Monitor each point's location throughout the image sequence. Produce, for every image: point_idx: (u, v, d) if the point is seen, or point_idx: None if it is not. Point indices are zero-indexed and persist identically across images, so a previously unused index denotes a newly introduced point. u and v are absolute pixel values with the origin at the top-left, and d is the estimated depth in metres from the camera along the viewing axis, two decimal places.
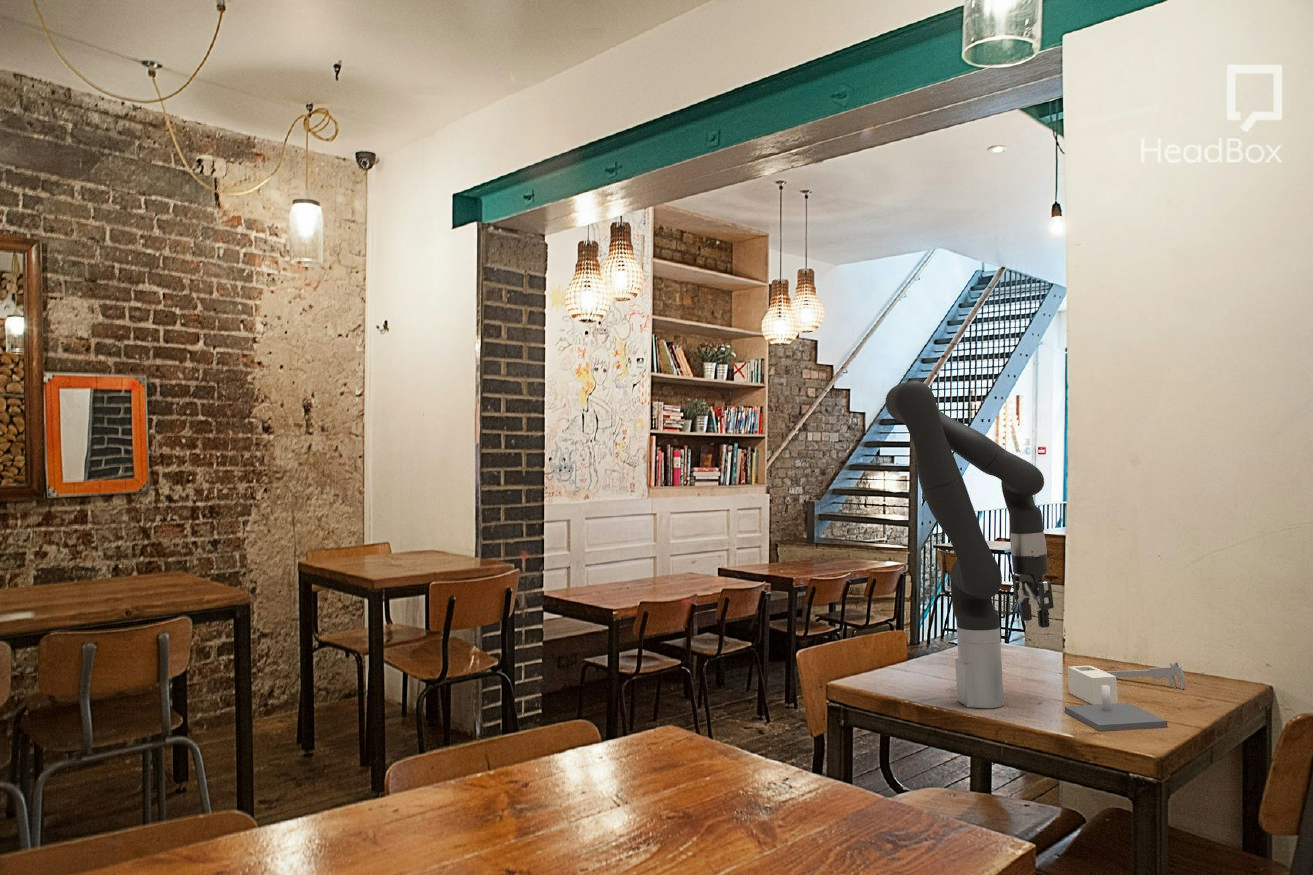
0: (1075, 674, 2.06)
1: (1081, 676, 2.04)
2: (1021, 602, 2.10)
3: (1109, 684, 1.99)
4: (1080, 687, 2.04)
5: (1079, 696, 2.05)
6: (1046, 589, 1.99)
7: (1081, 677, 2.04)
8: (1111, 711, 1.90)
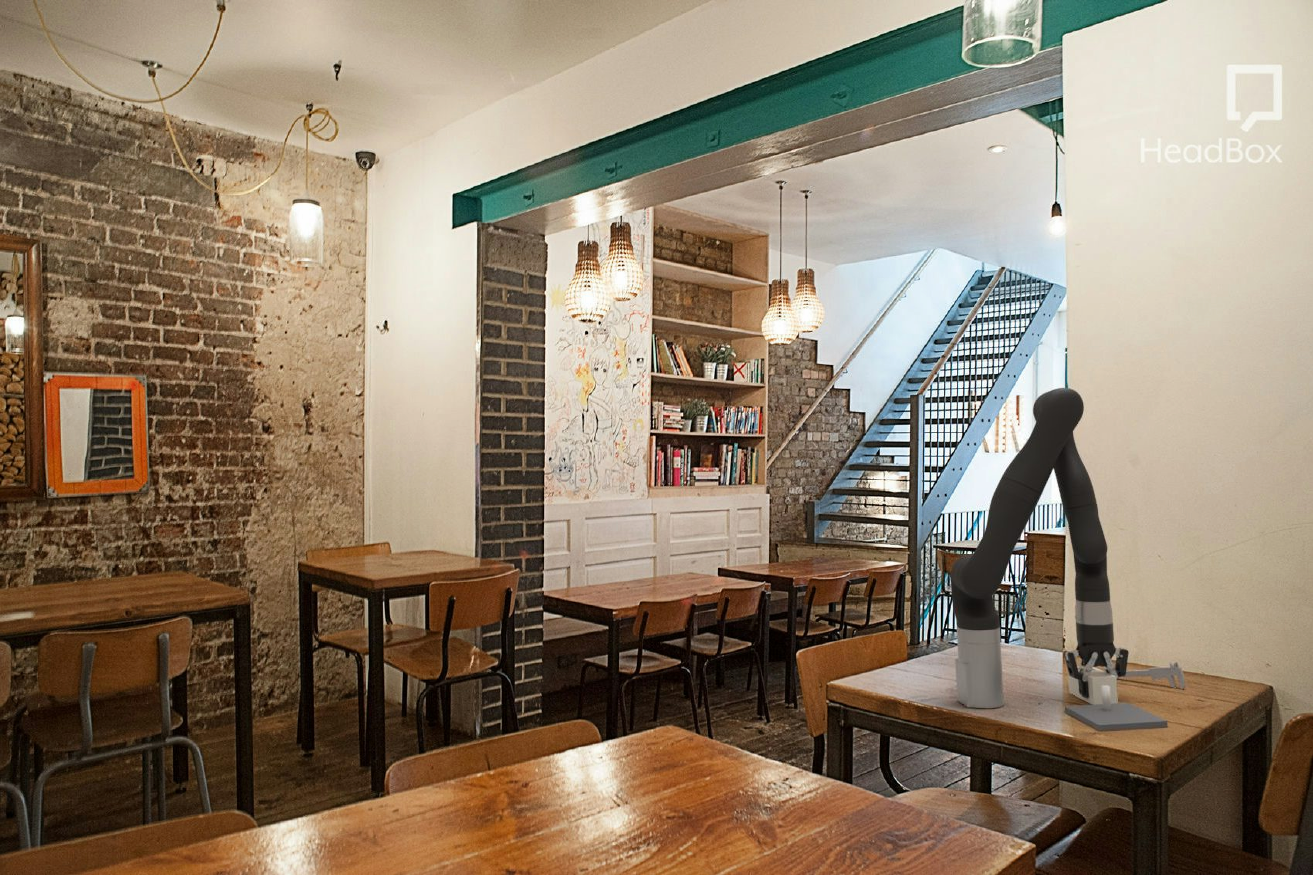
0: None
1: None
2: None
3: (1109, 684, 1.99)
4: None
5: (1079, 696, 2.05)
6: None
7: None
8: (1111, 711, 1.90)
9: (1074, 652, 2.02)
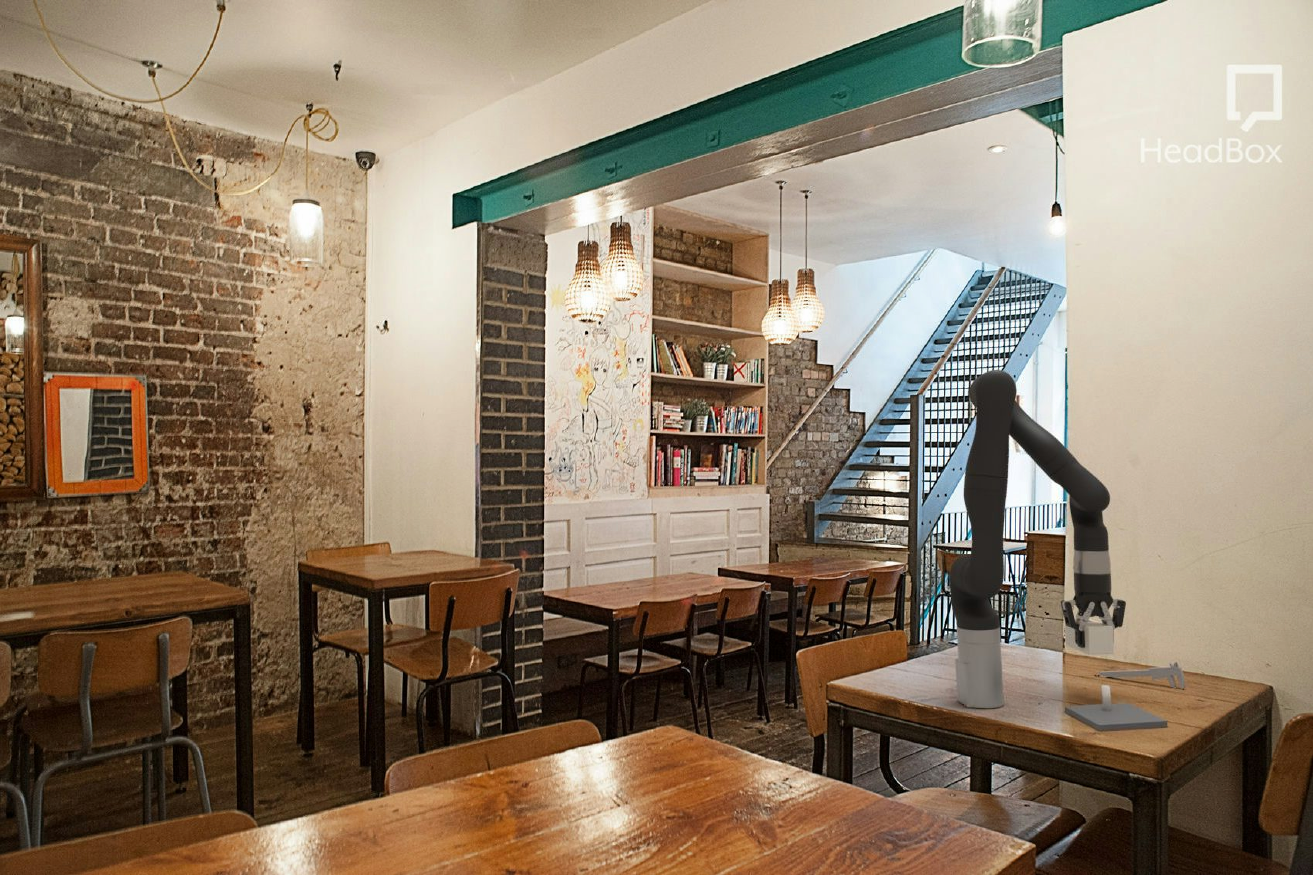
0: None
1: None
2: None
3: (1105, 634, 1.99)
4: None
5: (1075, 647, 2.05)
6: None
7: None
8: (1111, 711, 1.90)
9: (1071, 602, 2.02)
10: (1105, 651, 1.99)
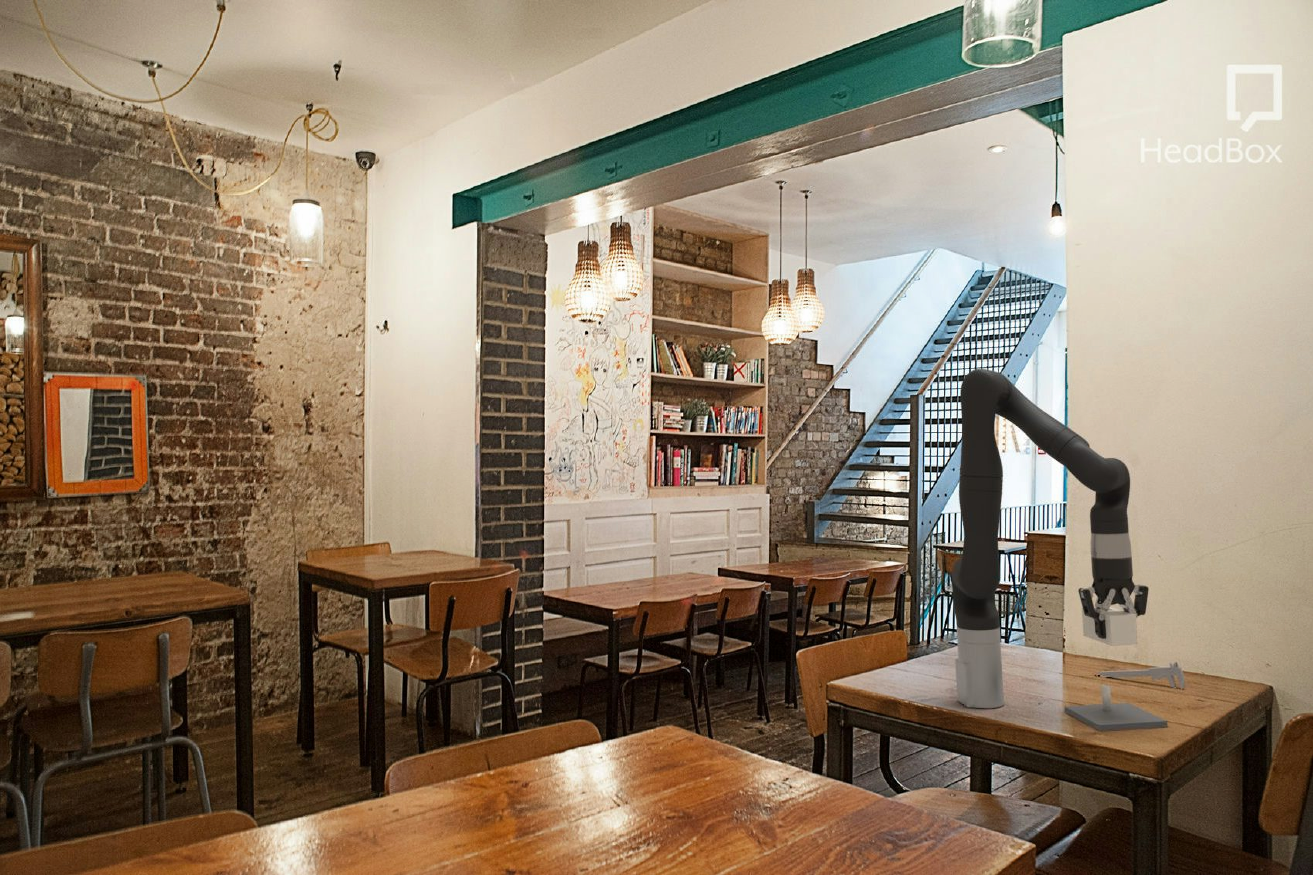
0: None
1: None
2: None
3: (1128, 623, 1.84)
4: None
5: (1095, 638, 1.90)
6: None
7: None
8: (1111, 711, 1.90)
9: (1090, 589, 1.86)
10: (1128, 641, 1.84)
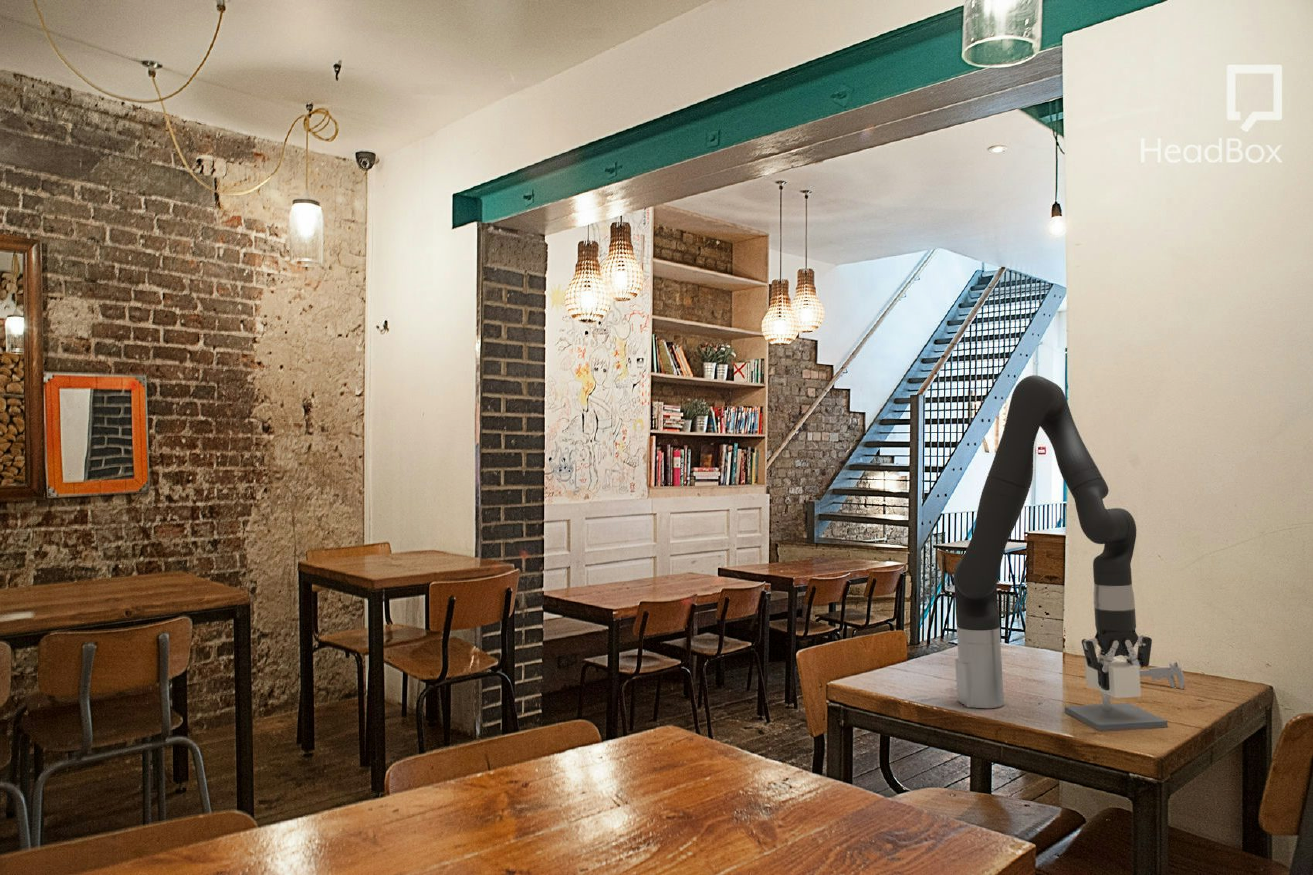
0: None
1: None
2: None
3: (1131, 675, 1.83)
4: None
5: (1098, 688, 1.89)
6: None
7: None
8: (1111, 711, 1.90)
9: (1093, 640, 1.86)
10: (1132, 693, 1.83)
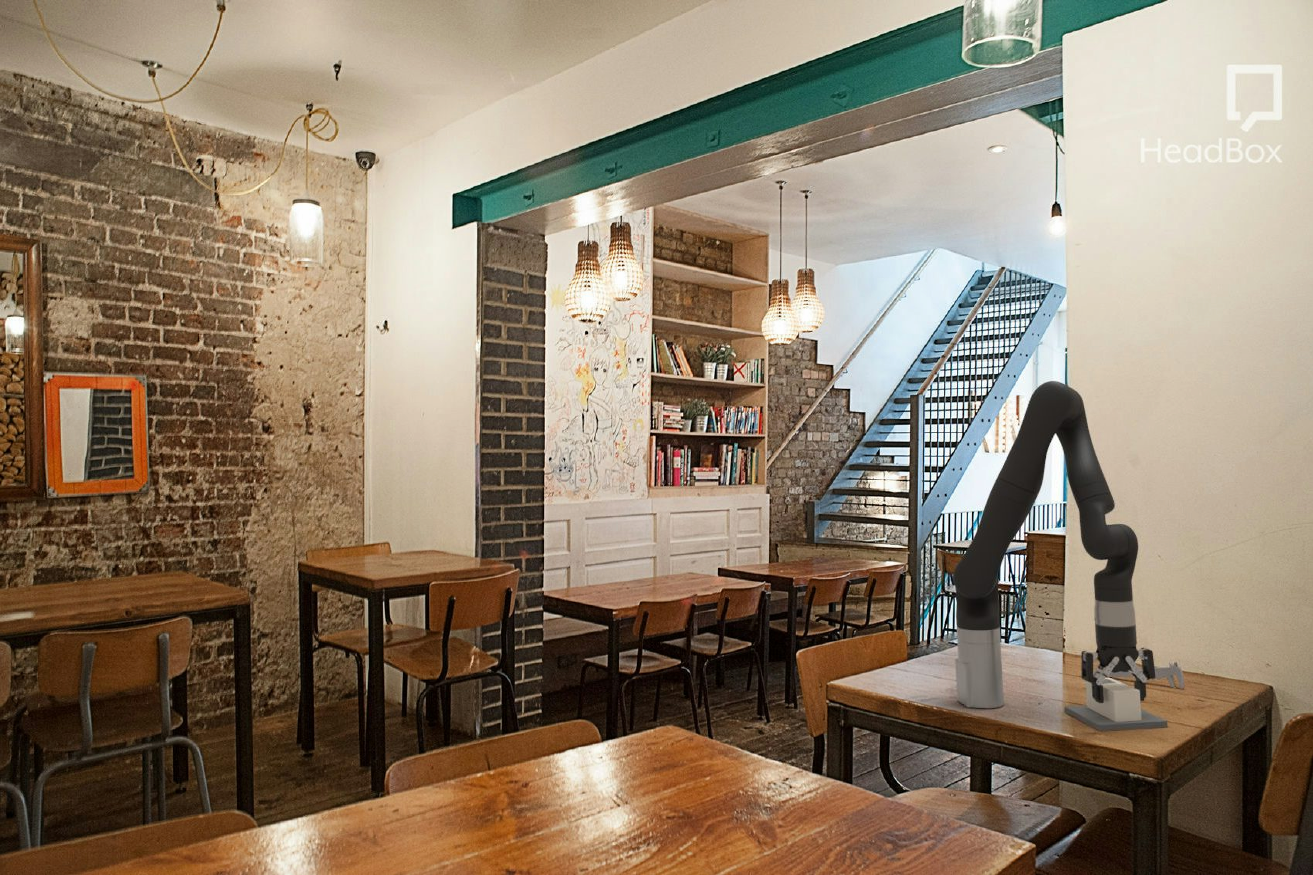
0: None
1: None
2: None
3: (1132, 699, 1.83)
4: None
5: (1098, 711, 1.89)
6: None
7: None
8: None
9: (1093, 654, 1.86)
10: (1132, 717, 1.83)
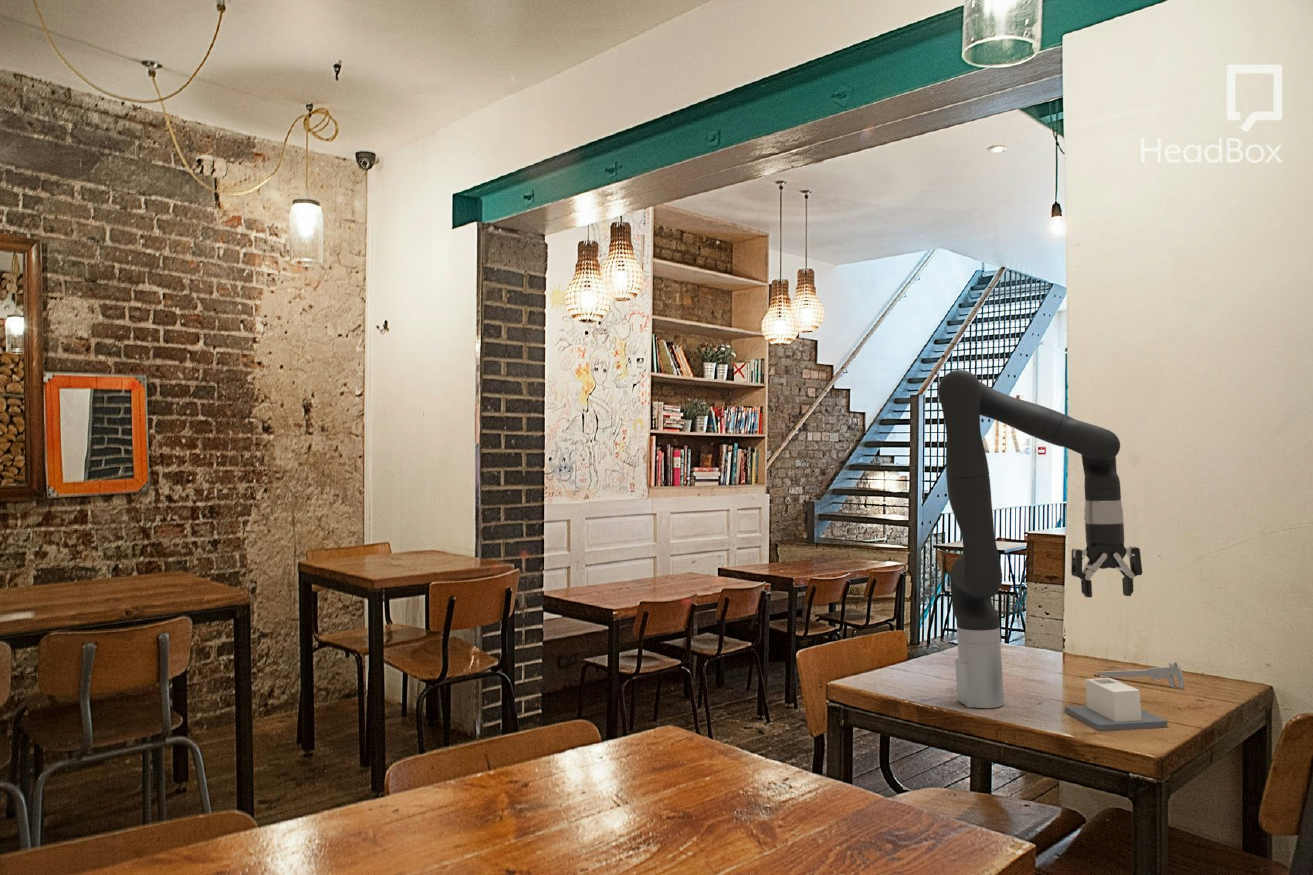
0: (1094, 687, 1.90)
1: (1101, 689, 1.88)
2: None
3: (1132, 699, 1.83)
4: (1100, 701, 1.88)
5: (1098, 711, 1.89)
6: None
7: (1101, 691, 1.88)
8: None
9: (1083, 551, 1.95)
10: (1132, 717, 1.83)
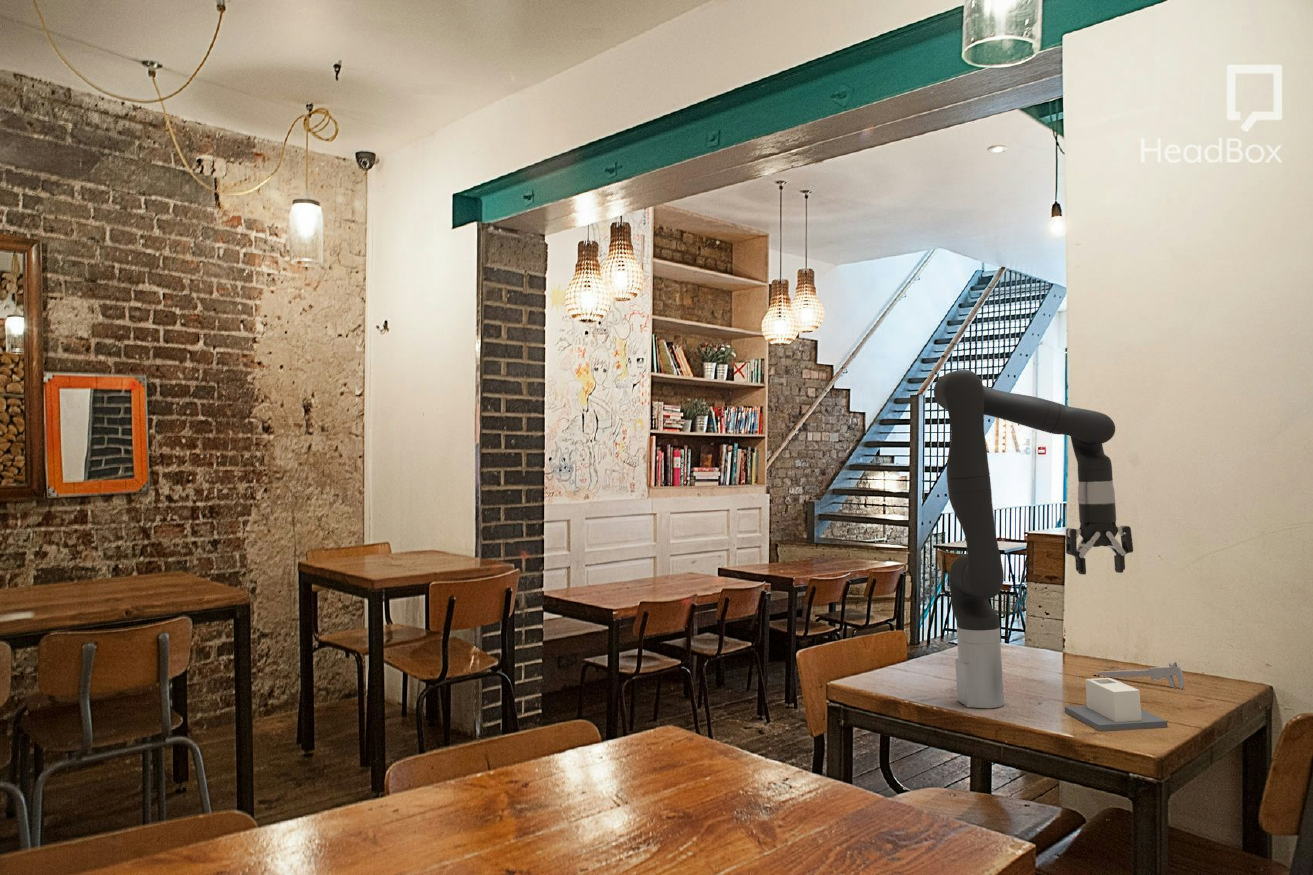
0: (1094, 687, 1.90)
1: (1101, 689, 1.88)
2: None
3: (1132, 699, 1.83)
4: (1100, 701, 1.88)
5: (1098, 711, 1.89)
6: None
7: (1101, 691, 1.88)
8: None
9: (1077, 530, 2.04)
10: (1132, 717, 1.83)
